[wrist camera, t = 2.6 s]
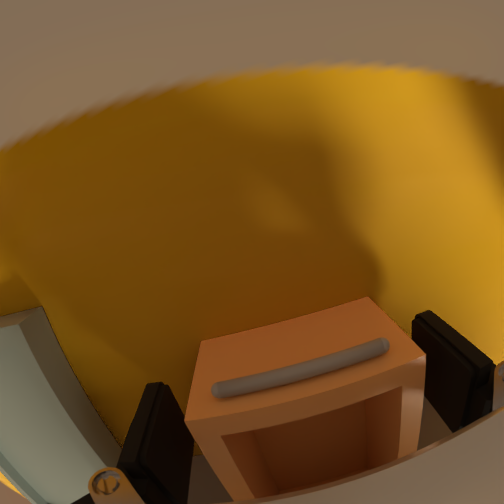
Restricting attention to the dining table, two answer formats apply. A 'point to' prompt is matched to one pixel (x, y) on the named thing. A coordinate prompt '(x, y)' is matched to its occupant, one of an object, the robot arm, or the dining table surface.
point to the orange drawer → (307, 400)
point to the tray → (46, 416)
